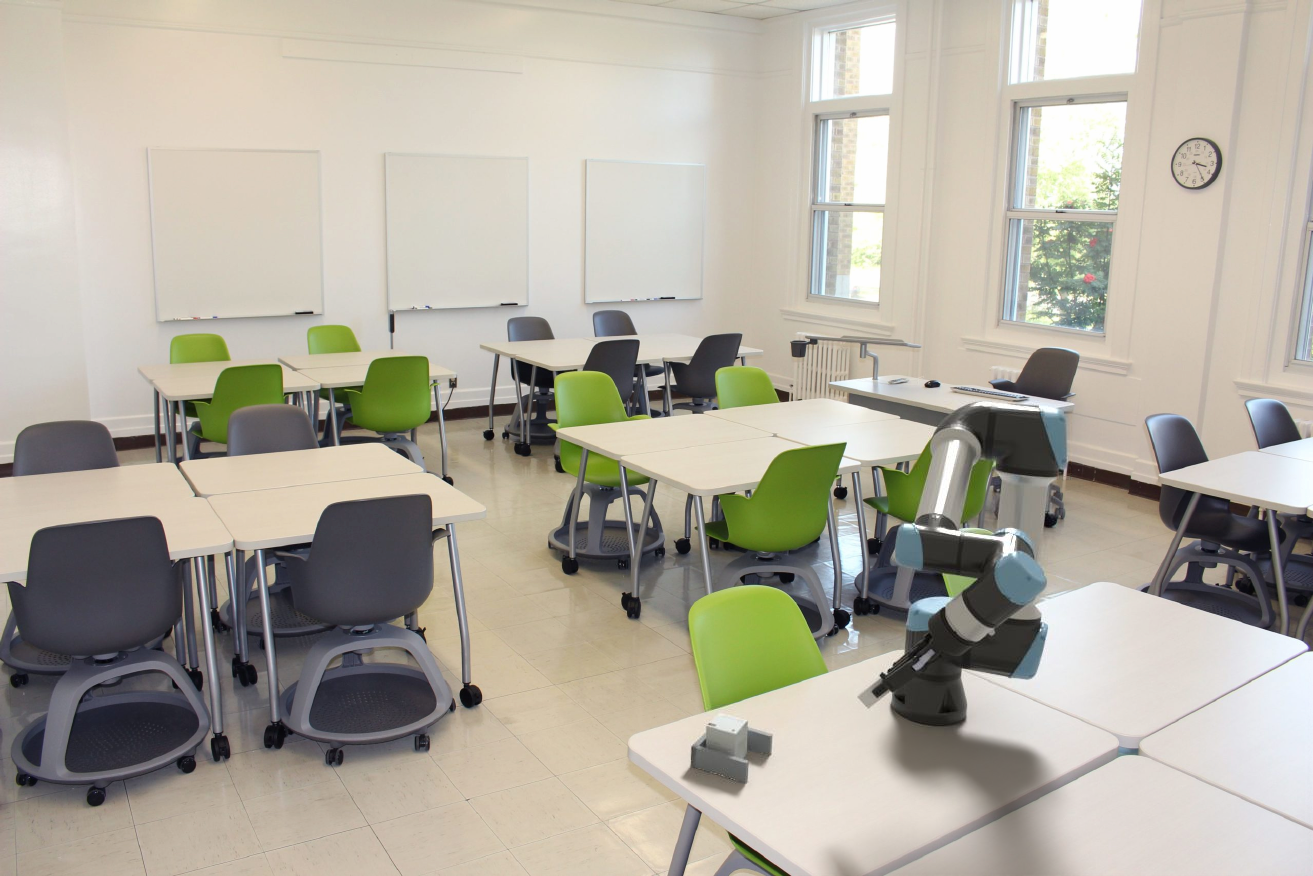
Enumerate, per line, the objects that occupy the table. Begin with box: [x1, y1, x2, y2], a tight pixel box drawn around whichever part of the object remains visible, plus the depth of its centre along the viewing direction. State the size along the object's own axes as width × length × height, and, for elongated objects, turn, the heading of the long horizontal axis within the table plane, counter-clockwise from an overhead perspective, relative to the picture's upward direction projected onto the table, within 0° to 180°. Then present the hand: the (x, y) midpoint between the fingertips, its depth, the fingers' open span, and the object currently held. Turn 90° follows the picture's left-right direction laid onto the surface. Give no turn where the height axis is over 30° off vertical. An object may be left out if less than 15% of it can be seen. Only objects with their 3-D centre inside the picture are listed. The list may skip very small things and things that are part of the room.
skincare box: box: [705, 712, 749, 760], centre depth 187 cm, size 6×6×7 cm
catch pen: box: [690, 726, 773, 784], centre depth 187 cm, size 12×11×4 cm
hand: (864, 700), depth 174 cm, fingers closed
